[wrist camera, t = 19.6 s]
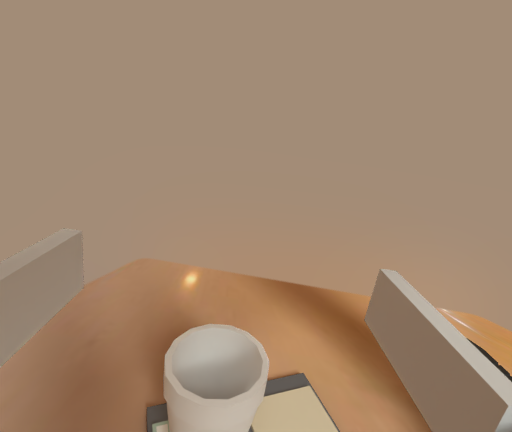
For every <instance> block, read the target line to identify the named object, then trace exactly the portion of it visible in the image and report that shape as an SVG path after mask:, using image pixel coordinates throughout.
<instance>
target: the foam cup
mask: <svg viewBox="0 0 512 432" xmlns="http://www.w3.org/2000/svg"><path fill="white" fill-rule="evenodd" d="M268 369H269V359H268V357H267V355H266V352H265V350H264V348H263V345H262V344H261V343H260V342H259V341H257V340H256V339H255V338H254V337H253V336H252V335H251V334H250V333H248V332H246V331H244V330H241V329H238V328H236V327H233V326H231V325H220V324H207V325H203V326H199V327H195V328H191V329H189V330H188V331H186V332H185V333H183V334H182V335H180V336H179V337H177V338H176V339H175V340H174V341H173V343H172V344H171V346H170V348H169V349H168V351H167V353H166V354H165V361H164V375H163V387H164V398H165V400H166V401H167V411H168V421H169V431H170V432H249V429H250V426H251V424H252V421H253V419H254V416H255V413H256V411H257V408H258V406H259V405H260V404H261V402H262V401H263V398H264V393H265V388H266V383H267V377H268Z"/></svg>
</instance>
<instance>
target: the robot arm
mask: <svg viewBox="0 0 512 432" xmlns="http://www.w3.org/2000/svg"><path fill="white" fill-rule="evenodd" d="M83 278H84V276H83V243H82V231H80V230H73V229H65V228H64V229H61V230H60V231H57V232H56V233H54V234H52V235H50V236H48V237H46V238H44V239H42V240H41V241H39V242H37V243H35V244H33V245H31V246H29V247H28V248H26V249H24V250H22V251H20V252H18V253H16V254H14V255H13V256H11V257H9V258H7V259H5V260H3V261H1V262H0V368H1V367H2V366H3V365H4V364H5V363H6V362H7V361H8V360H9V359H10V358H11V357H12V356H13V355H14V354H15V353H16V352H17V351H18V350H19V349H20V348H22V347H23V346H24V345H25V344H26V343H27V342H28V341H29V340H30V339H31V338H32V337H33V336H34V335H35V334H36V333H37V332H38V331H39V330H40V329H41V328H42V327H43V326H44V325H46V324H47V323H48V322H49V321H50V320H51V319H52V318H53V317H54V316H55V315H56V314H57V313H58V312H59V311H60V310H61V309H62V308H63V307H64V306H65V305H66V304H67V303H68V302H69V301H71V300H72V299H73V298H74V297H75V296H76V295H77V294H78V293H79V292H80V291H81V290H82V289H83V288H84V279H83ZM364 320H365V322H366V324H367V325H368V327H369V329H370V330H371V332H372V334H373V335H374V337H375V338H376V340H377V342H378V343H379V345H380V347H381V348H382V350H383V352H384V353H385V355H386V357H387V358H388V360H389V362H390V363H391V365H392V367H393V368H394V370H395V371H396V373H397V375H398V376H399V378H400V380H401V381H402V383H403V385H404V386H405V388H406V390H407V391H408V393H409V395H410V396H411V398H412V400H413V401H414V403H415V405H416V406H417V408H418V409H419V411H420V413H421V414H422V416H423V418H424V419H425V421H426V423H427V424H428V426H429V428H430V429H431V431H432V432H512V377H511V376H510V374H509V373H508V372H507V371H506V370H505V369H504V368H503V367H502V366H501V365H498V362H497V361H496V360H494V359H493V358H492V357H491V356H490V355H489V354H488V353H487V352H486V351H485V350H484V349H482V348H481V347H479V346H478V345H476V344H475V343H473V342H472V341H470V340H469V339H467V338H465V337H464V336H463V335H462V334H461V333H460V332H459V331H458V330H457V329H456V328H455V327H454V326H453V325H452V324H451V323H450V322H449V321H448V320H447V319H446V318H445V317H444V316H443V315H441V314H440V313H439V312H438V311H437V310H436V309H435V308H434V307H433V306H432V305H431V304H430V303H429V302H428V301H427V300H426V299H425V298H424V297H423V296H422V295H421V294H420V293H419V292H418V291H416V290H415V289H414V288H413V287H412V286H411V285H410V284H409V283H408V282H407V281H406V280H405V279H404V278H403V277H402V276H401V275H400V274H399V273H398V272H397V271H393V270H385V269H380V271H379V274H378V277H377V281H376V284H375V287H374V291H373V293H372V297H371V300H370V303H369V306H368V310H367V313H366V316H365V319H364Z"/></svg>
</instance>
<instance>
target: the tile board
mask: <svg viewBox="0 0 512 432" xmlns="http://www.w3.org/2000/svg"><path fill="white" fill-rule="evenodd" d="M147 432H170V431H169V421H168V411H167V403H165V404H161V405H156V406H152V407H147ZM249 432H340V431H339V429H338V428H337V426H336V424H335V423H334V421H333V420H332V418H331V416H330V415H329V413H328V412H327V410H326V408H325V407H324V405H323V404H322V402H321V400H320V399H319V397H318V396H317V394H316V392H315V391H314V389H313V388H312V386H311V384H310V383H309V381H308V380H307V378H306V377H305V375H304V373H301V374H296V375H292V376H287V377H283V378H278V379H274V380H269V381H267V383H266V388H265V393H264V398H263V401H262V402H261V404H260V405H259V406H258V408H257V411H256V413H255V416H254V419H253V421H252V424H251V426H250V429H249Z"/></svg>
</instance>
